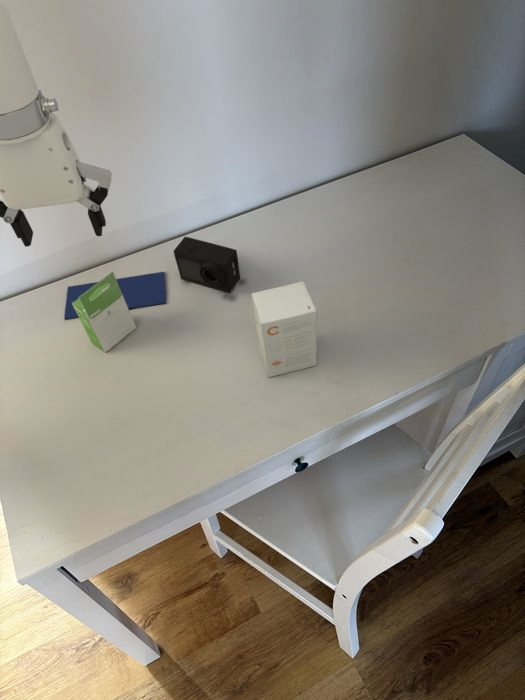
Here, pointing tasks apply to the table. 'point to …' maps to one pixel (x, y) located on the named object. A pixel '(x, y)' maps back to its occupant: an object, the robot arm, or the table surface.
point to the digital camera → (207, 264)
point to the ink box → (104, 313)
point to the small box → (285, 328)
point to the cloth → (126, 292)
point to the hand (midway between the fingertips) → (64, 234)
